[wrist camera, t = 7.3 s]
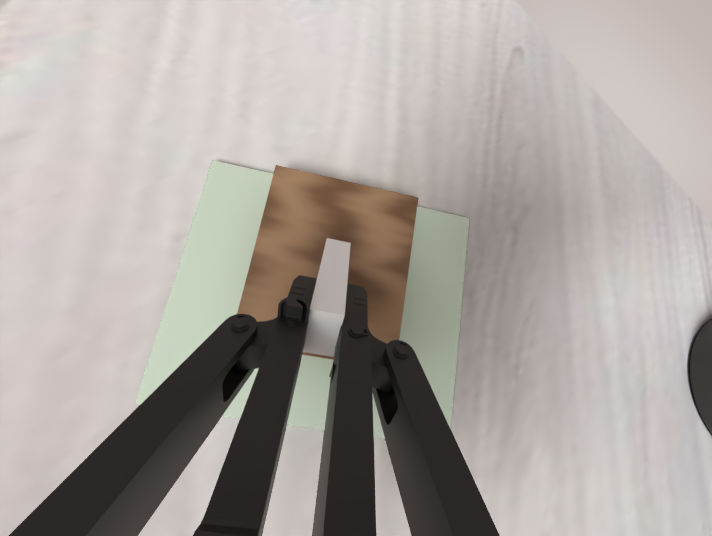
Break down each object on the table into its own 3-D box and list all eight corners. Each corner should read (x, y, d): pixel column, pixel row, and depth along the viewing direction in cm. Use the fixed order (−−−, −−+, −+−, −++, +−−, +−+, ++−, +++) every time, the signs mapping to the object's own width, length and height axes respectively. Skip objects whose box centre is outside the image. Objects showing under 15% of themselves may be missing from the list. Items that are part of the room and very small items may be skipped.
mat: (465, 221, 28) (469, 218, 27) (444, 443, 23) (449, 447, 23) (215, 164, 25) (212, 159, 24) (141, 401, 21) (134, 404, 20)
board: (387, 365, 23) (408, 209, 26) (395, 369, 21) (418, 197, 24) (239, 340, 22) (279, 180, 25) (229, 342, 20) (275, 165, 23)
